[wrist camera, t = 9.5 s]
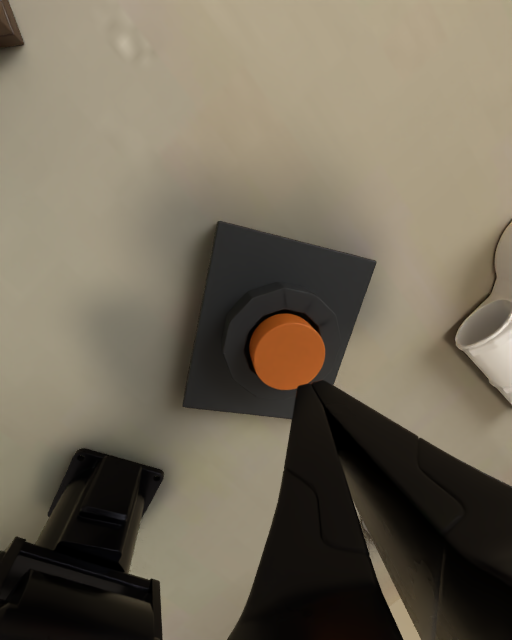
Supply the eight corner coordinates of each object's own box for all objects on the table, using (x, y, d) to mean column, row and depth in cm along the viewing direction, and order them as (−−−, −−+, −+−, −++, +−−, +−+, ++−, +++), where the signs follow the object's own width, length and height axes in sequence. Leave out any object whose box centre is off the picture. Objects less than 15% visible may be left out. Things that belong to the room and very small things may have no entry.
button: (304, 379, 18) (313, 394, 16) (242, 370, 17) (245, 385, 15) (323, 319, 17) (335, 329, 15) (257, 307, 16) (263, 316, 14)
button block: (312, 408, 23) (330, 440, 19) (184, 393, 20) (179, 425, 17) (363, 258, 19) (395, 264, 16) (217, 220, 17) (219, 219, 14)
